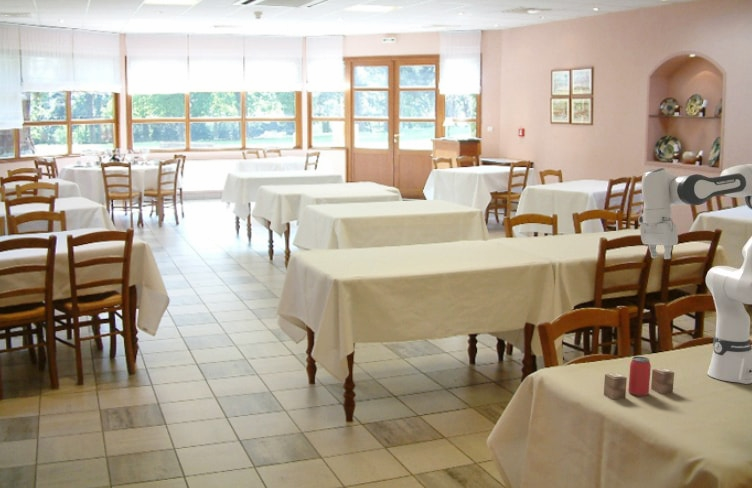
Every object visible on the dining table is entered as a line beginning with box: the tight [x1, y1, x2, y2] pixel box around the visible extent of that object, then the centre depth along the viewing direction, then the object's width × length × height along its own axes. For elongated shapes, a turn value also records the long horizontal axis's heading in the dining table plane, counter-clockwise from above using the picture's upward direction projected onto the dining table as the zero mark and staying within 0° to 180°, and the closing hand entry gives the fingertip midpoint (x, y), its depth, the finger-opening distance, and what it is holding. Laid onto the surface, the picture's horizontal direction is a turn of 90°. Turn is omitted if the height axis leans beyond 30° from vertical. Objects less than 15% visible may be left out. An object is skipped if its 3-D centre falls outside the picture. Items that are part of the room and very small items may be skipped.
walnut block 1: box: [603, 372, 628, 400], centre depth 294 cm, size 5×5×7 cm
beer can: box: [627, 356, 652, 397], centre depth 297 cm, size 7×7×12 cm
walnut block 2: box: [650, 367, 675, 395], centre depth 301 cm, size 5×5×7 cm
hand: (660, 258), depth 299 cm, fingers open, 8 cm apart
